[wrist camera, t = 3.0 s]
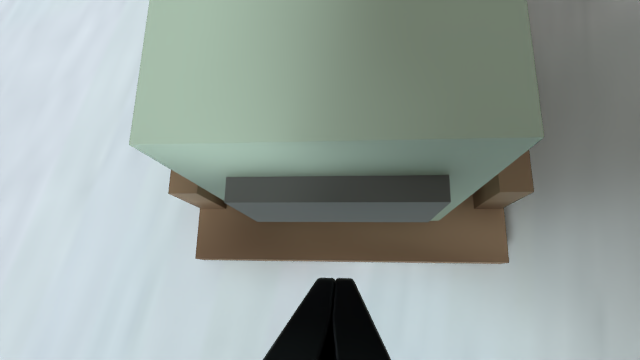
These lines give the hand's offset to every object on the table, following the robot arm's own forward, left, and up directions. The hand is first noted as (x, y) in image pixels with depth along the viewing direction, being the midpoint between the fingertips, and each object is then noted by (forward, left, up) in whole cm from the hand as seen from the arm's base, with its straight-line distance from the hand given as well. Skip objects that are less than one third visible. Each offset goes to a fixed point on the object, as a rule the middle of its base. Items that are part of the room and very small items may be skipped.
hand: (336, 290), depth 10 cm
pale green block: (+3, +2, -5) cm, 7 cm away
